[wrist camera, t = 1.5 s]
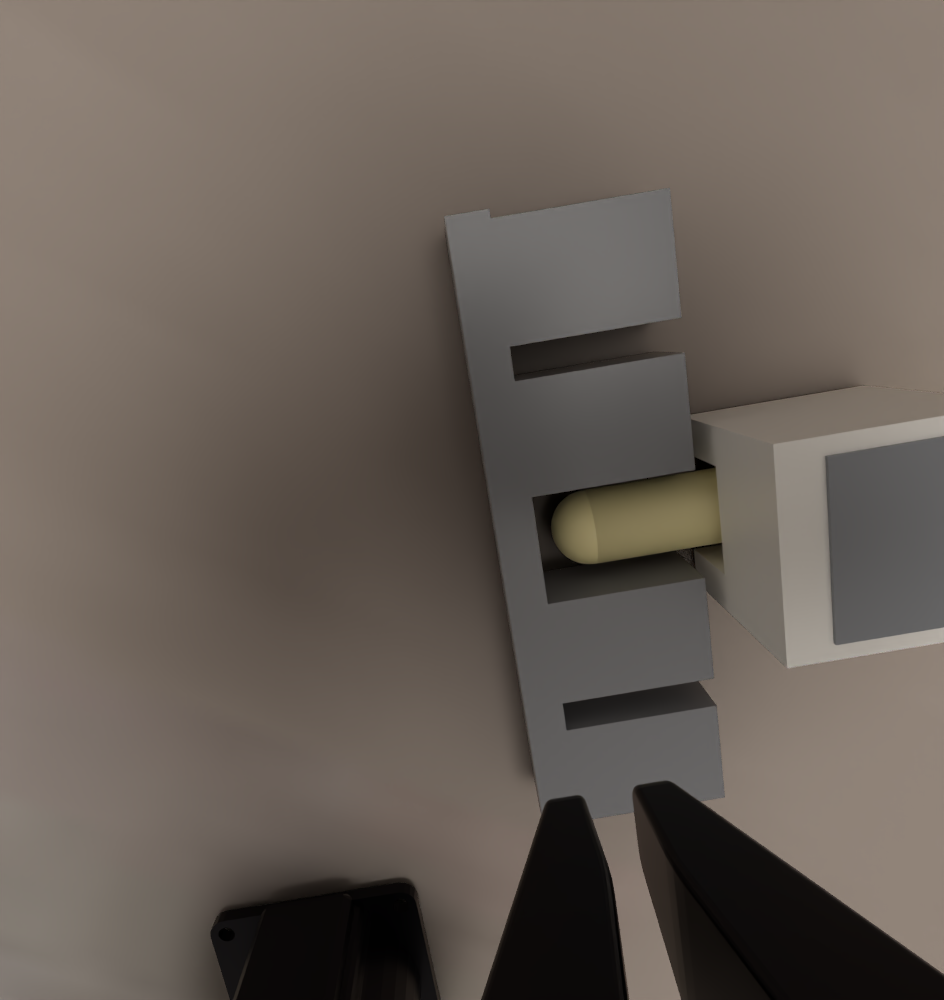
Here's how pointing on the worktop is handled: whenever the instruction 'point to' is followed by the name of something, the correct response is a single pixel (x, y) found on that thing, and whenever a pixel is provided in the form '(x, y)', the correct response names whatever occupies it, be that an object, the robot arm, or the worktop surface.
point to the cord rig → (594, 496)
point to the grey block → (829, 521)
